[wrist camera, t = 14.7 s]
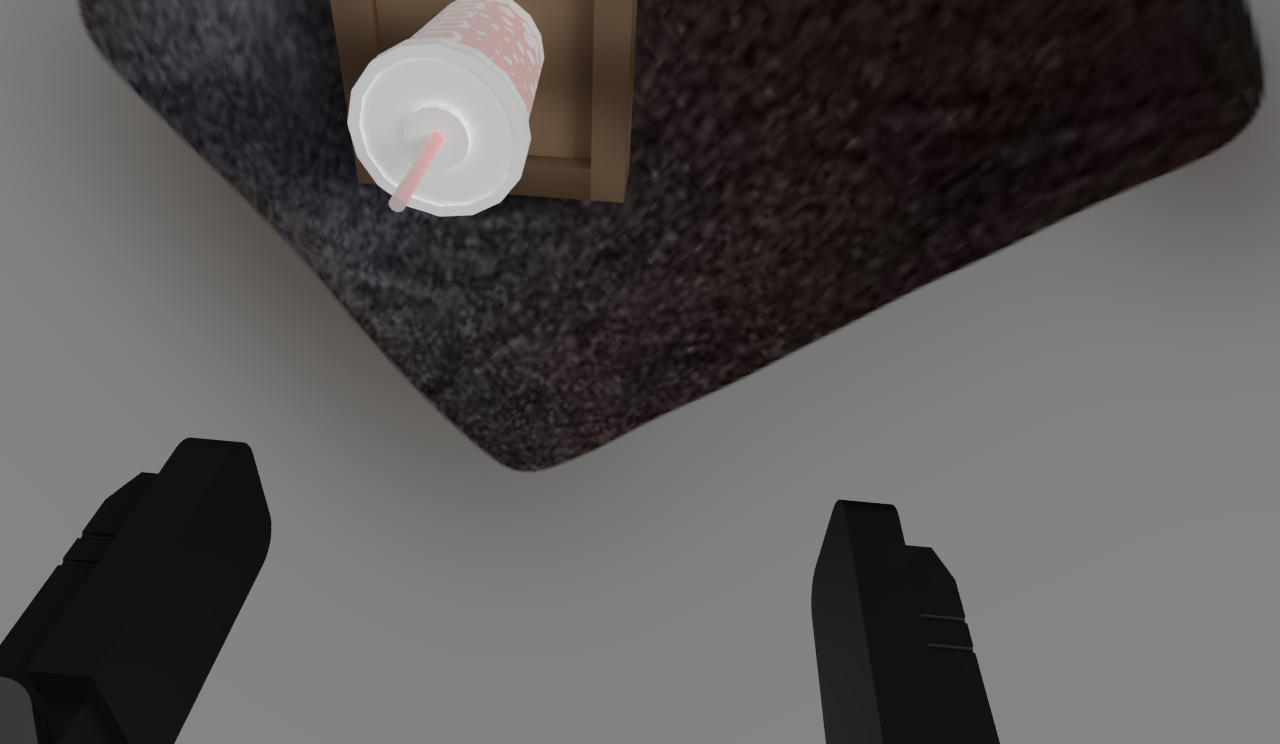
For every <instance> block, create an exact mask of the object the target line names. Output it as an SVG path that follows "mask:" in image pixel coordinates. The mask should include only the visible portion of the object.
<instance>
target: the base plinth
mask: <svg viewBox="0 0 1280 744" xmlns="http://www.w3.org/2000/svg"><path fill="white" fill-rule="evenodd" d="M454 1H456V0H330V3H331V10H332V16H333V22H334V29H335V35H336V42H337V48H338V55H339V61H340V67H341V74H342V80H343V87H344V93H345V99H346V106H347V112H348V113H349V105H350V97H351V90H352V88H353V87H354V85H355V84H356V82H357V81H358V79H359V78H360V76H361V75H362V73H363V72H364V70H365V69H366V67H367V66H368V64H369V63H370V62H371V61H372V60H373V59H375V58H376V57H377V55H379V54H381V53H383V52H385V51H386V50H388V49H390V48H392V47H394V46H395V45H397V44H399V43H401V42H403V41H404V40H406V39H410V38H411V37H412V36H413V35H414V34H415V33H417V32H418V31H419V30H420V29H421V28H422V27H424V26H425V25H426V24H427V23H428V22H429V21H431V20H432V19H433V18H434V17H435V16H436V15H438V14H439V13H440V12H441V11H442V10H443V9H445V8H446V7H447V6H448V5H449V4H451V3H452V2H454ZM513 1H514V2H515V3H517V4H518V5H519V6H520V7H521V8H522V9H524V10H525V11H526V12H527V13H528V14H529V15H530V16H531V18H532V19H533V21H534V23H535V25H536V27H537V29H538V30H539V32H540V34H541V37H542V44H543V51H544V61H543V65H542V69H541V73H540V77H539V81H538V85H537V89H536V93H535V97H534V101H533V105H532V109H531V113H530V117H529V127H530V134H531V142H530V146H529V150H528V153H527V157H526V161H525V165H524V169H523V172H522V176H521V179H520V180H519V181H518V182H517V183H516V185H515V186H514V187H513V188H512V189H511V191H510V192H509V193H508V194H512V195H525V196H539V197H552V198H566V199H579V200H592V201H606V202H619V203H624V198H625V192H626V186H627V179H628V173H629V162H630V141H631V119H632V98H633V77H634V56H635V35H636V14H637V0H513ZM352 144H353V141H352ZM353 151H354V157H355V164H356V170H357V176H358V183H364V184H377V183H376V182H375V181H374V179H373V178H372V177H371V175H370V174H369V173H368V171H367V170H366V168H365V167H364V166H363V164H362V163H361V162H360V160H359V159H358V157H357V155H356V152H355V148H354V145H353Z"/></svg>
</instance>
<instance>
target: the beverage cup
mask: <svg viewBox="0 0 1280 744" xmlns="http://www.w3.org/2000/svg"><path fill="white" fill-rule="evenodd" d="M543 61H544V51H543V44H542V37H541V34H540V32H539V30H538V29H537V27H536V25H535V23H534V21H533V19H532V18H531V16H530V15H529V14H528V13H527V12H526V11H525V10H524V9H522V8H521V7H520V6H519V5H518V4H517V3H515V2H514V1H513V0H456V1H454V2H452V3H451V4H449V5H448V6H447V7H446V8H445V9H443V10H442V11H441V12H440V13H439V14H438V15H436V16H435V17H434V18H433V19H432V20H431V21H429V22H428V23H427V24H426V25H425V26H424V27H422V28H421V29H420V30H419V31H418V32H417V33H415V34H414V35H413V36H412V37H411V38H410V39H406V40H404V41H403V42H401V43H399V44H397V45H395V46H394V47H392V48H390V49H388V50H386V51H385V52H383V53H381V54H379V55H377V57H376V58H375V59H373V60H372V61H371V62H370V63H369V64H368V66H367V67H366V69H365V70H364V72H363V73H362V75H361V76H360V78H359V79H358V81H357V82H356V84H355V85H354V87H353V88H352V90H351V97H350V105H349V113H348V121H347V124H348V128H349V131H350V134H351V138H352V141H353V145H354V148H355V152H356V155H357V157H358V159H359V160H360V162H361V163H362V164H363V166H364V167H365V168H366V170H367V171H368V173H369V174H370V175H371V177H372V178H373V179H374V181H375V182H376V183H377V185H378V186H379V187H381V188H382V189H384V190H385V191H386V192H388V193H389V194H391V195H392V197H391V199H390V200H389V206H390V208H391V209H392V210H394V211H396V212H401V211H403V210H404V208H405V207H406V206H408V207H411V208H414V209H417V210H421V211H424V212H427V213H430V214H434V215H437V216H463V215H474V214H476V213H478V212H480V211H482V210H485V209H487V208H489V207H491V206H493V205H496V204H498V203H500V202H501V201H502V200H503V199H504V198H505V196H506V195H507V194H508V193H509V192H510V191H511V189H512V188H513V187H514V186H515V185H516V183H517V182H518V181H519V180H520V179H521V176H522V172H523V169H524V165H525V161H526V157H527V153H528V150H529V146H530V142H531V134H530V127H529V117H530V113H531V109H532V105H533V101H534V97H535V93H536V89H537V85H538V81H539V77H540V73H541V69H542V65H543Z"/></svg>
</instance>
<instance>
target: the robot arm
mask: <svg viewBox="0 0 1280 744" xmlns="http://www.w3.org/2000/svg"><path fill="white" fill-rule="evenodd" d="M82 533H83V534H82V537H81V538H77V540H76V541H75V543H74V544H73V545H72V547H71V548H70V549H69V551H68V552H67V554H66V555H65V556H64V558H63V564H62V565H58V566H57V567H56V569H55V570H54V571H53V573H52V574H51V576H50V577H49V578H48V580H47V581H46V582H45V584H44V585H43V587H42V588H41V589H40V591H39V592H38V593H37V595H36V596H35V598H34V599H33V601H32V602H31V603H30V605H29V606H28V607H27V609H26V610H25V612H24V613H23V614H22V616H21V617H20V618H19V620H18V621H17V623H16V624H15V625H14V627H13V628H12V629H11V631H10V632H9V634H8V635H7V636H6V638H5V639H4V641H3V642H2V643H1V645H0V744H174V743H175V741H176V739H177V737H178V735H179V733H180V731H181V729H182V727H183V725H184V723H185V721H186V719H187V717H188V715H189V713H190V711H191V709H192V707H193V704H194V703H195V701H196V699H197V697H198V694H199V692H200V690H201V688H202V686H203V684H204V682H205V680H206V678H207V676H208V674H209V672H210V670H211V668H212V666H213V664H214V662H215V660H216V658H217V656H218V654H219V652H220V650H221V648H222V646H223V644H224V642H225V640H226V638H227V636H228V634H229V632H230V630H231V628H232V626H233V624H234V622H235V619H236V618H237V616H238V614H239V612H240V610H241V608H242V606H243V604H244V602H245V600H246V598H247V596H248V594H249V592H250V590H251V588H252V586H253V583H254V582H255V579H256V578H257V575H258V573H259V571H260V569H261V567H262V565H263V563H264V561H265V559H266V556H267V552H268V549H269V545H270V539H271V518H270V513H269V510H268V506H267V503H266V499H265V495H264V492H263V488H262V485H261V481H260V477H259V474H258V470H257V467H256V463H255V460H254V456H253V453H252V450H251V448H250V446H249V445H248V444H246V443H243V442H233V441H221V440H211V439H200V438H186V439H185V440H183V441H182V442H181V443H180V444H179V445H178V446H177V447H176V449H175V450H174V452H173V453H172V455H171V456H170V458H169V459H168V460H167V462H166V463H165V465H164V466H163V468H162V469H161V471H160V472H159V474H155V473H144V472H141V473H140V474H139V475H137V476H136V477H135V478H133V479H132V480H131V481H129V482H128V483H127V484H125V485H124V486H123V487H121V488H120V489H119V490H117V491H116V492H115V493H114V494H112V495H111V496H109V497H108V498H107V499H106V500H105V501H104V502H103V504H102V505H101V507H100V508H99V509H98V511H97V512H96V513H95V515H94V516H93V518H92V519H91V520H90V522H89V523H88V524H87V526H86V527H85V529H84V530H83V531H82ZM811 601H812V602H811V605H812V606H811V608H812V621H813V630H814V638H815V647H816V657H817V666H818V675H819V683H820V693H821V702H822V711H823V720H824V729H825V738H826V744H1000V742H999V738H998V735H997V731H996V727H995V724H994V720H993V716H992V713H991V709H990V705H989V702H988V698H987V694H986V691H985V687H984V683H983V680H982V676H981V673H980V669H979V665H978V661H977V658H976V654H975V653H973V644H972V639H971V636H970V632H969V629H968V625H967V623H965V620H964V619H965V614H964V610H963V607H962V603H961V599H960V596H959V592H958V589H957V584H956V581H955V579H954V578H953V576H952V575H951V574H950V572H949V571H948V570H947V568H946V567H945V566H944V564H943V563H942V562H941V560H940V559H939V557H938V556H937V555H936V553H935V552H934V551H933V549H932V548H930V547H918V546H908V545H905V541H904V537H903V532H902V528H901V524H900V520H899V515H898V512H897V510H896V508H895V506H894V505H890V504H880V503H869V502H859V501H848V500H838V501H837V502H836V503H835V506H834V508H833V511H832V515H831V518H830V521H829V524H828V528H827V531H826V534H825V538H824V541H823V544H822V548H821V551H820V554H819V557H818V561H817V564H816V567H815V571H814V576H813V584H812V598H811Z"/></svg>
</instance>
